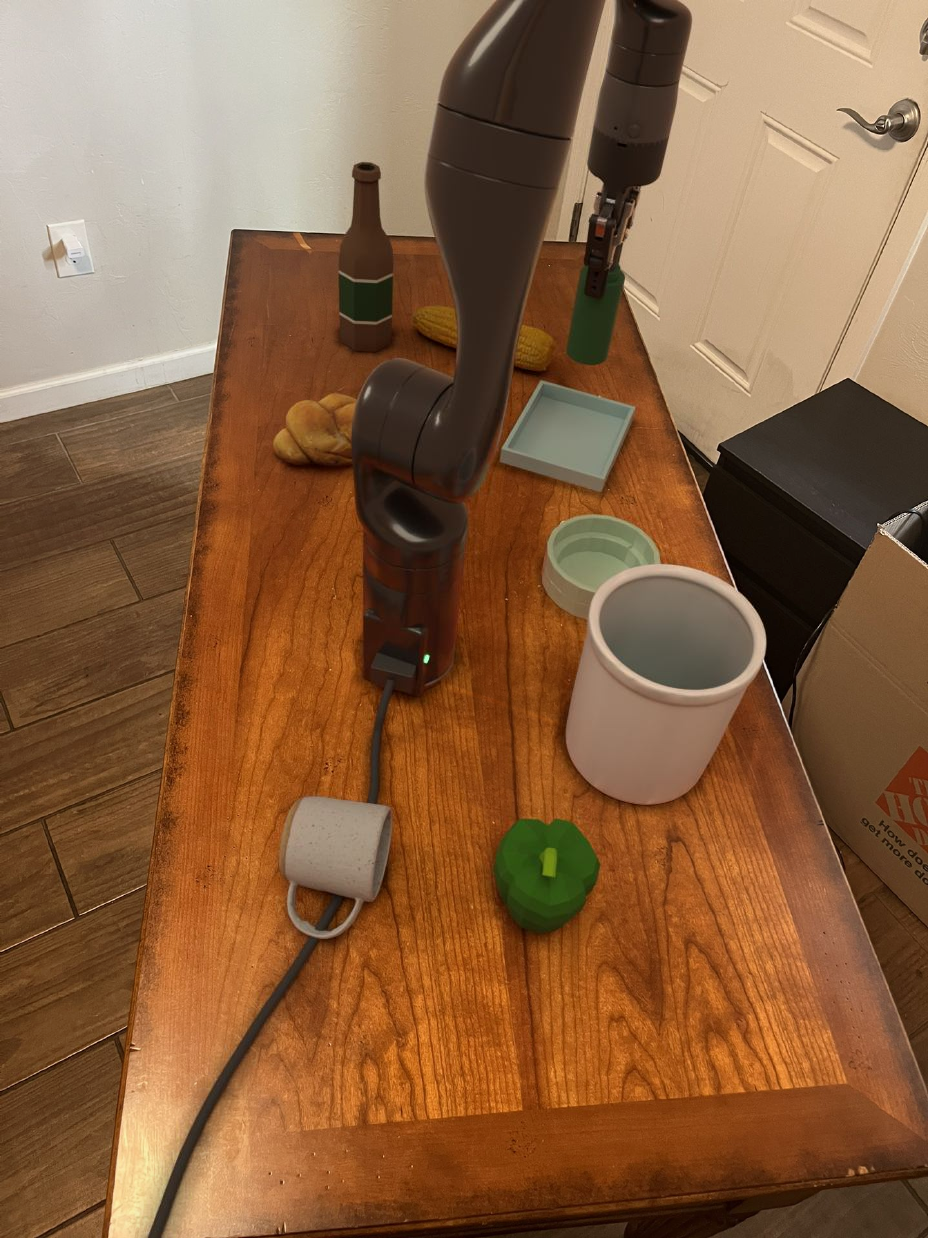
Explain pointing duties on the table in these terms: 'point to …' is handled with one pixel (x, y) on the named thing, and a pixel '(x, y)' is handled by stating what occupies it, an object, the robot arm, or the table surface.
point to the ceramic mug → (334, 852)
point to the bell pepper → (544, 873)
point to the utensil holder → (659, 680)
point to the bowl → (591, 558)
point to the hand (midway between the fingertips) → (600, 283)
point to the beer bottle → (366, 269)
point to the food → (443, 328)
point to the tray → (568, 435)
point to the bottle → (595, 317)
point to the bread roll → (318, 432)
